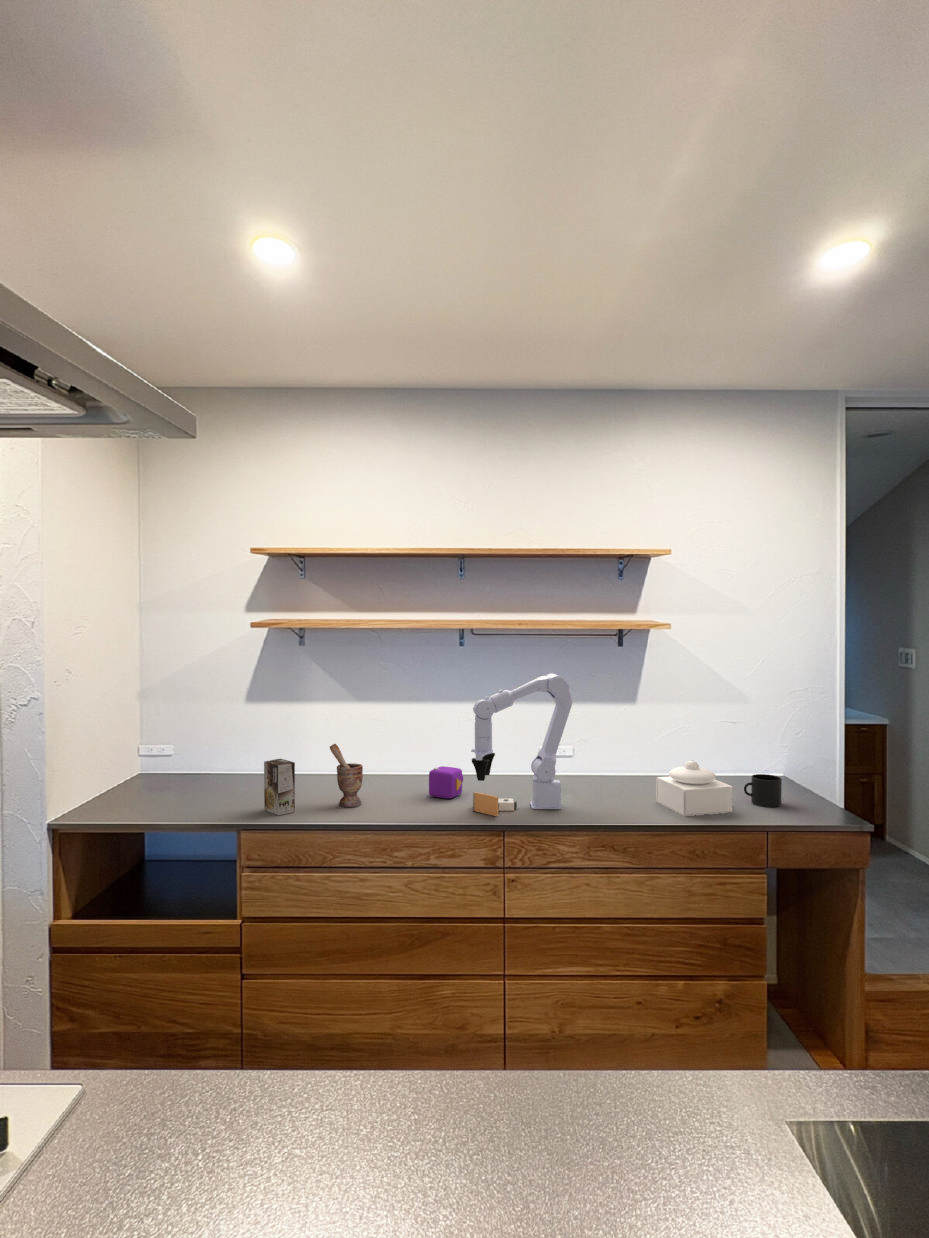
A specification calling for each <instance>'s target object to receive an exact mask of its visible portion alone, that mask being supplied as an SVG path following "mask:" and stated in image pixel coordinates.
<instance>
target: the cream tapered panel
mask: <svg viewBox="0 0 929 1238" xmlns="http://www.w3.org/2000/svg"><path fill="white" fill-rule="evenodd" d="M517 808H518V803H517V800H514V798H498V812H499V811H502V812H503V811H504V812H505V811H506V812H507V811H508V812H509V811H513V812H514V811H515V809H517Z"/></svg>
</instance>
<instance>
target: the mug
mask: <svg viewBox="0 0 929 1238" xmlns="http://www.w3.org/2000/svg"><path fill="white" fill-rule="evenodd" d="M782 780H783V779H782V777H780V776H777V775H773V774H764V773H763V774H762V773H758V774H752V775H751V781H750V782H747V783H745V784H744V787H743V792H744V794H745V795H746V796H748V797H751V798H750V799H751V804H752V805H755V806H757V807H763V808H778V807H781V805H782V792H783V791H782V789H783V788H782V787H783V786H782V785H783V783H782ZM748 786H750V787H751V792H748V790H747V787H748Z"/></svg>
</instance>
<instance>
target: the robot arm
mask: <svg viewBox="0 0 929 1238" xmlns="http://www.w3.org/2000/svg"><path fill="white" fill-rule="evenodd" d="M536 692H541V693H548V694H549V695H550V696H551V698H552V700H553V702H554V704H555V705H554V708H553V712H552V715H551V718H550V721H549V724H548V728H547V730H546V734H545V736H544V740H543V743H542V745H541V748H540V750H538V752H537V755H536V757H535V758H534V759H533V760H532V762H531V764H530V768H531V771H532V773H533V776H532V778H531V781H532V783H531V787H532V788H531V801H529V803H530V807H531V809H532V810H562V806H561V805H562V804H561V803H562V799H561V798H562V795H561V794H562V792H561V791H562V787H561V781H560V779H555V775H556V771H557V770H556V763H557V753H558V749H559V746H560V742H561V740H562V737H563V734H564V730H565V728H566V724H567V720H568V719H569V716H570V712H571V708H572V705H573V700H572V696H571V691H570V685H569V683H568V682H567V680H566V679H565V677H563V676H561V675H557V674H556V673H548V674H546V675H542V676H539V677H536V678H535V679H533V680H530V681H528V682H526V683H524V684H522V685H520V686H519V687H516V688H515V689H512V690H507V689H504V690H503V688H502V689H499V690H498V692H497V693H494V694H492V695H490V696H489V695H487V696H484V697H485V699H483V698H481V699H479V700H477V701H476V702H475V703H474V705H473V707H472V709H473V710H472V711H473V713H474V714H475V715H474V720H475V721H474V748H472V749H471V751H470V752H471V753H474V754H475V757H472V758H471V763H472V765H473V767H474V769H475V774H476V778H477V781H479V782H482V781H483V782H484V781H485V779H486V776H490V773H491V768H492V764H493V761H494V757H495V756H496V753H495V752H494V750H493V722H492V717H493V715H494V714H496V713H498V712H501V711H504V710H506V709H509V707H513V705H514V703H515V701H517V700H518V699H521V698H523V697H525V696H529V695H531V694H533V693H536Z"/></svg>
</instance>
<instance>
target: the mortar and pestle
mask: <svg viewBox="0 0 929 1238" xmlns="http://www.w3.org/2000/svg"><path fill="white" fill-rule="evenodd" d="M329 750H330V751H331V753H332V755H333V756H334V758H335V759H336V761H338V764H339V765H337V766H336V775H337V776H336V779H337V785H338V788H339V790H340V791H341V793H342V794H343V795H342V797H341V798H340V800H339V802H338V804H339V806H340V807H344V808H352V807H353V808H354V807H355V808H356V807H359V806H361V804H362V801H361V800H362V799H361V798H360V797H359V796H358V792H360V790H361V788H362V783H363V775H364V774H363V770H364V769H363V767H364V766H363V764H362V763H352V762H350V763H347V762H346V760H345V758H344V757H343V754H342V752H341V750H340V747H339V746H338V745H337V744H336V743H333V744H331V745H330V746H329Z"/></svg>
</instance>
